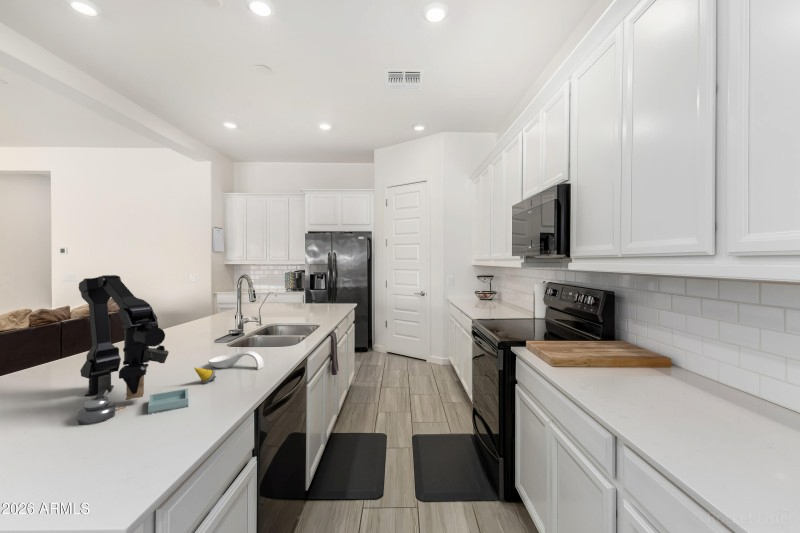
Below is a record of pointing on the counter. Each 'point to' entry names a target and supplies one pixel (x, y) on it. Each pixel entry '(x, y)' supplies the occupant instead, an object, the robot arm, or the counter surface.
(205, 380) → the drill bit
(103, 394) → the crank
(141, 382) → the block
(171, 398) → the tray
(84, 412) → the crank base
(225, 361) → the spoon rest
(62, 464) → the counter surface
